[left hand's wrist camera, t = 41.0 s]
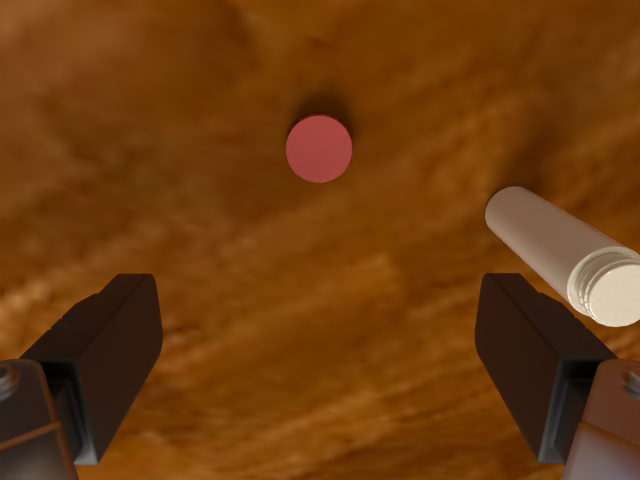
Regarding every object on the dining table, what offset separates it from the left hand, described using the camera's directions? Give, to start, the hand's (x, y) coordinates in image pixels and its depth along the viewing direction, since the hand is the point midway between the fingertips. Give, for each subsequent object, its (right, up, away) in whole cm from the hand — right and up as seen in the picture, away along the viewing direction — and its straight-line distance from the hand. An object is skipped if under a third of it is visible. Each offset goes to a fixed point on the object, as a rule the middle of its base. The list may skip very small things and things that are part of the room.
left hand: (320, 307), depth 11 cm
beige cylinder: (+16, +4, +26) cm, 31 cm away
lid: (0, +9, +23) cm, 25 cm away
